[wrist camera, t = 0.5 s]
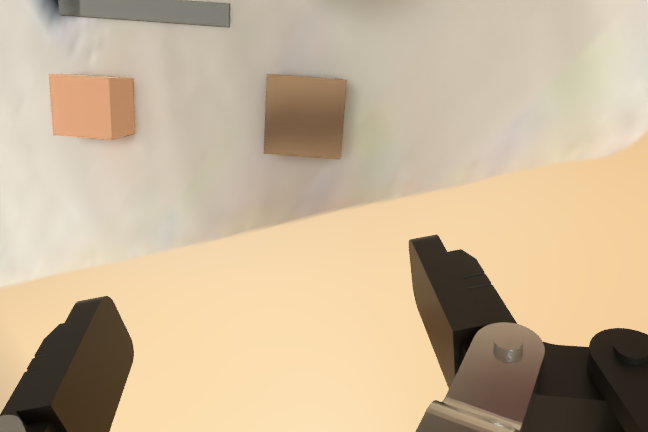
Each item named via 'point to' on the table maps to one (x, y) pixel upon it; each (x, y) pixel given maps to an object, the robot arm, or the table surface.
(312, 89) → the walnut block
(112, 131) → the clay block
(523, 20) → the table surface
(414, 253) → the robot arm
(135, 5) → the frame
